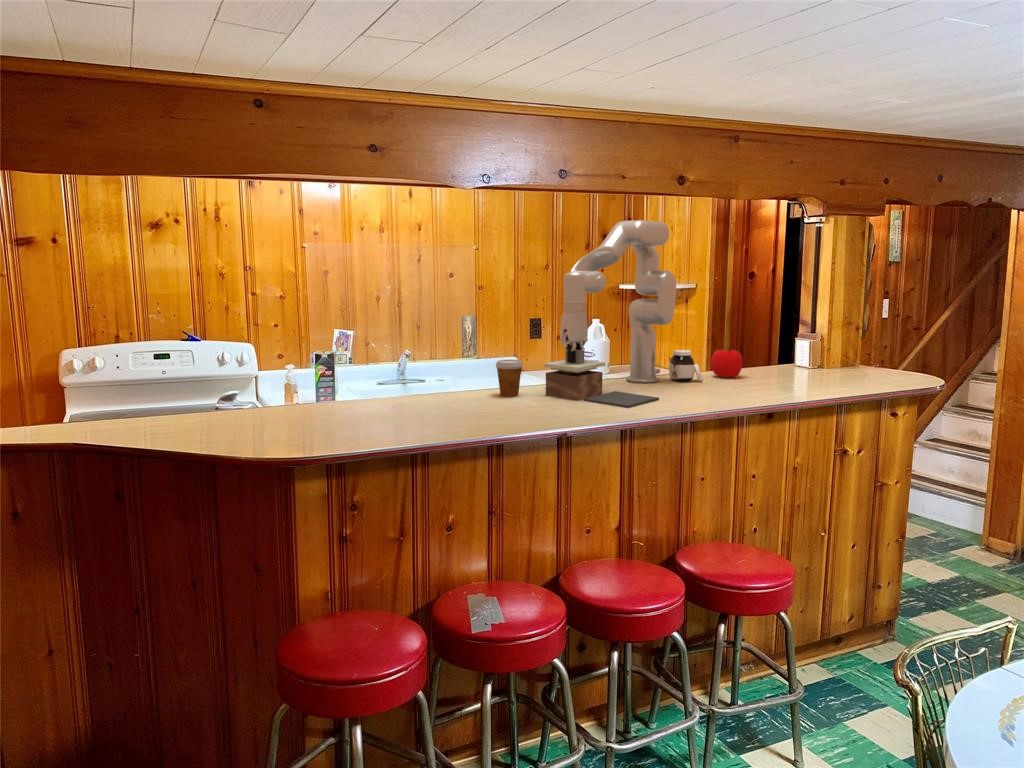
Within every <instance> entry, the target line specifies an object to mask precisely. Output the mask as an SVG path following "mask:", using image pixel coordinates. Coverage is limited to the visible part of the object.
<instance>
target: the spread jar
mask: <svg viewBox="0 0 1024 768" xmlns="http://www.w3.org/2000/svg"><path fill="white" fill-rule="evenodd" d="M691 355H692V350H688V349H676V350H674V349H673V351H672V356H671V357H670V359H669V364H668V365H669V366H668V367H669V368H668V376H669V378H670V380H671V381H672V382H674V381H675V383H689V382H692V381H693V379H694V377H695V374H696V378H697V380H698V381H699V382H703V375H702V373H701V369H700V367H699V364H698V363H696V364H695V360H694V359H693V357H692V356H691Z"/></svg>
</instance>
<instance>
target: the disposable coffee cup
mask: <svg viewBox="0 0 1024 768" xmlns="http://www.w3.org/2000/svg"><path fill="white" fill-rule="evenodd" d="M495 367H496V370H497V371H496V373H497V378H498V386H499V394H500V396H501V397H505V398H506V397H507V398H510V397H512V398H513V397H519V393H520V392H519V390H520V383H521V374H522V368H523V362H522V360H518V359H500V360H497V361H496V364H495Z"/></svg>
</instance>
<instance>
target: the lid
mask: <svg viewBox="0 0 1024 768" xmlns="http://www.w3.org/2000/svg"><path fill="white" fill-rule="evenodd" d="M574 351H575V352H576V362H575V363H572V362H568V361H567V350H566V349H565V351H564V352H565V353H564V355H565V356H564V357H565V358H564V359H562V360H557V361H556V360H555V361H551V362H545V363H544V366H543V367H544V368H548V369H549V368H550V369H551V368H552V370H553V371H559V370H560V371H567V372H575V373H579V372H584V371H588V370H589V371H594V370H596V369H598V368H601V367H605V366H606V361H605V362H604V361H599V360H598V361H597V360H590V359H589V360H588V359H585V350H584V349H583V350H577V349H575V348H574Z"/></svg>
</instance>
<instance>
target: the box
mask: <svg viewBox="0 0 1024 768" xmlns="http://www.w3.org/2000/svg"><path fill="white" fill-rule="evenodd" d="M601 394H603V371H595V370H588V371H584V372H579V373H575V372H567V371H560V370H553V371H549V372H545V396H547V397H552V398H558V399H559V398H561V399H566V400H571V401H581V400H584V398H588V397H592V396H597V395H601Z"/></svg>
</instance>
